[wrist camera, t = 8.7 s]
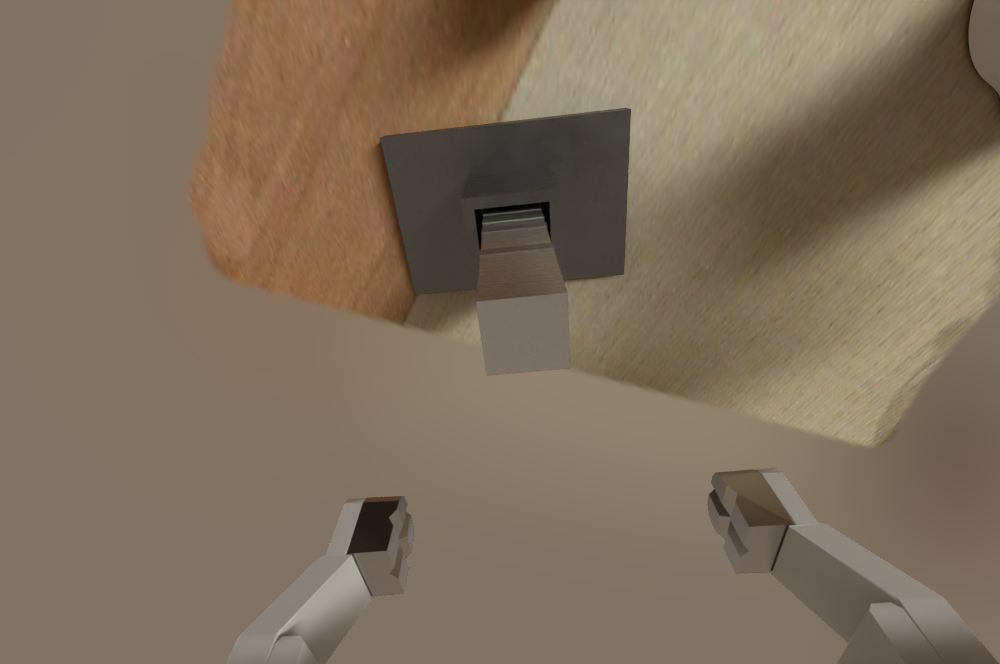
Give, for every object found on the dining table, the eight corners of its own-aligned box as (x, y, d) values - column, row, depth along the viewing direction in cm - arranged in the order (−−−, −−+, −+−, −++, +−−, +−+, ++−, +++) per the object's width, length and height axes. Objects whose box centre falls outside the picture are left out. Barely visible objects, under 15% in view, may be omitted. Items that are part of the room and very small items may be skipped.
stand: (625, 108, 36) (669, 119, 26) (619, 268, 43) (653, 320, 34) (384, 135, 36) (347, 155, 27) (417, 288, 44) (396, 344, 35)
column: (538, 200, 33) (568, 291, 19) (541, 252, 35) (570, 368, 21) (484, 205, 33) (474, 300, 19) (490, 257, 35) (485, 376, 21)
